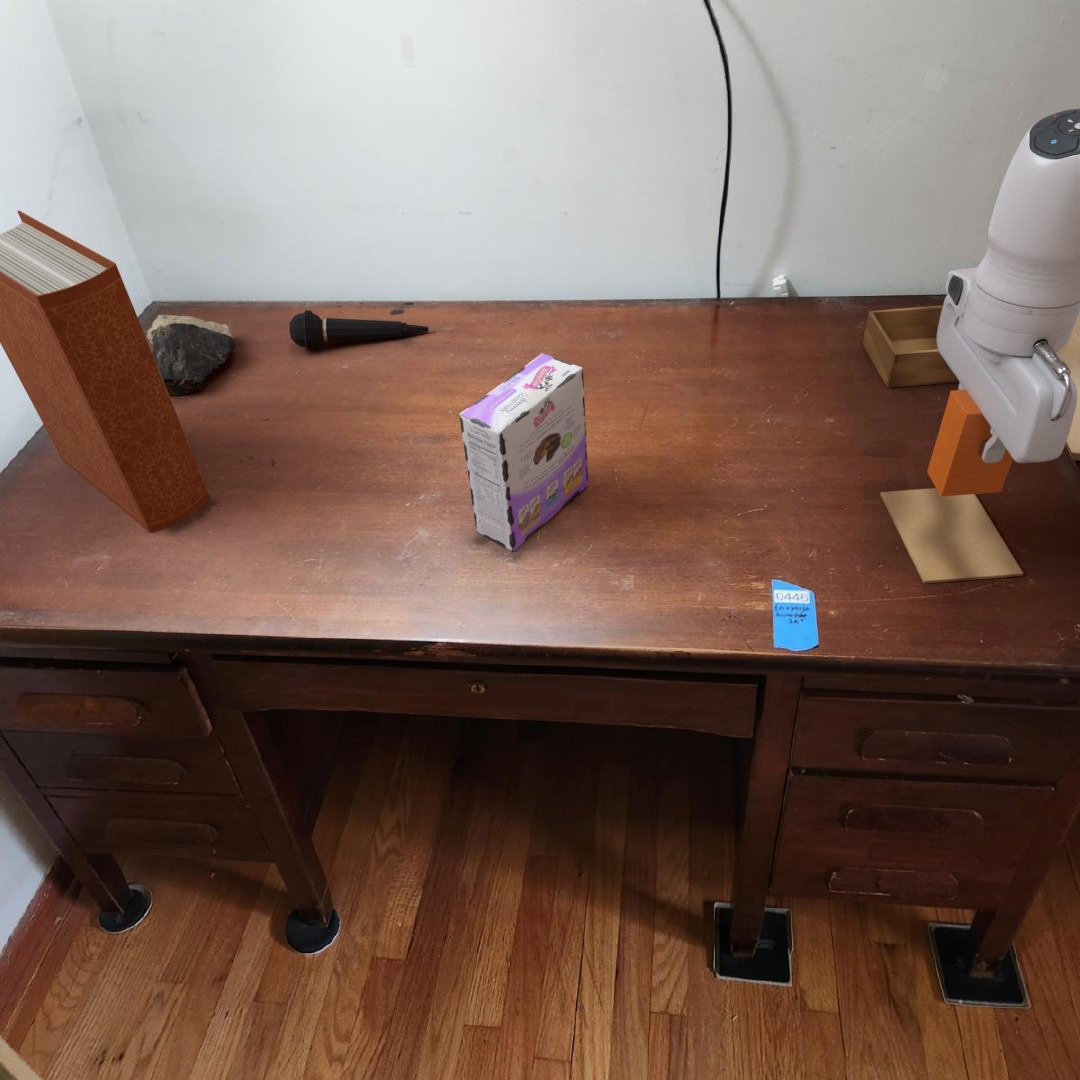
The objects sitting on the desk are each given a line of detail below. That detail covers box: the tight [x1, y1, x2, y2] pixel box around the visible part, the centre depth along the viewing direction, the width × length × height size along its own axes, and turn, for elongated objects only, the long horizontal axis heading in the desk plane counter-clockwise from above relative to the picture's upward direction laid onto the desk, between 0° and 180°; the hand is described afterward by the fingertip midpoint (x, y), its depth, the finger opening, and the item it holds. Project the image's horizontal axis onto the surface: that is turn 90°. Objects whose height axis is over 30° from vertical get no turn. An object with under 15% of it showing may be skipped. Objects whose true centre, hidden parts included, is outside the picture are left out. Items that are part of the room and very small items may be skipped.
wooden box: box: [861, 305, 960, 389], centre depth 120 cm, size 17×11×5 cm, turn 92°
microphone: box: [288, 309, 429, 351], centre depth 133 cm, size 6×6×20 cm
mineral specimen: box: [146, 314, 238, 397], centre depth 129 cm, size 13×7×15 cm
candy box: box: [458, 352, 589, 552], centre depth 99 cm, size 14×6×16 cm, turn 141°
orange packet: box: [926, 389, 1014, 496], centre depth 89 cm, size 6×4×10 cm, turn 92°
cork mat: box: [879, 487, 1024, 584], centre depth 97 cm, size 10×14×1 cm
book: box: [0, 210, 211, 534], centre depth 103 cm, size 23×8×30 cm, turn 47°
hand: (977, 441), depth 89 cm, fingers closed on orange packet, 4 cm apart
